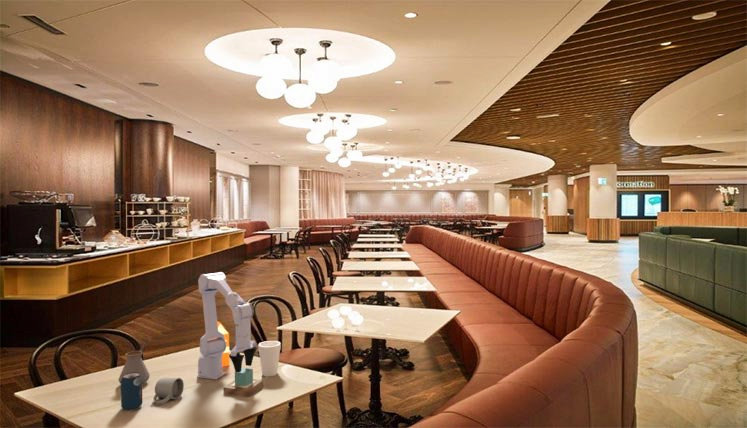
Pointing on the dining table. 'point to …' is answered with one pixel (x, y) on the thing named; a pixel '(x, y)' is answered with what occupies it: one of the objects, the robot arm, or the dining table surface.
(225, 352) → the orange juice
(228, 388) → the walnut base
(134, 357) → the coffee pot
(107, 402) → the dining table surface
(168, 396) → the ceramic mug
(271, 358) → the foam cup
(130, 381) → the soda can
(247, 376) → the teal cube
